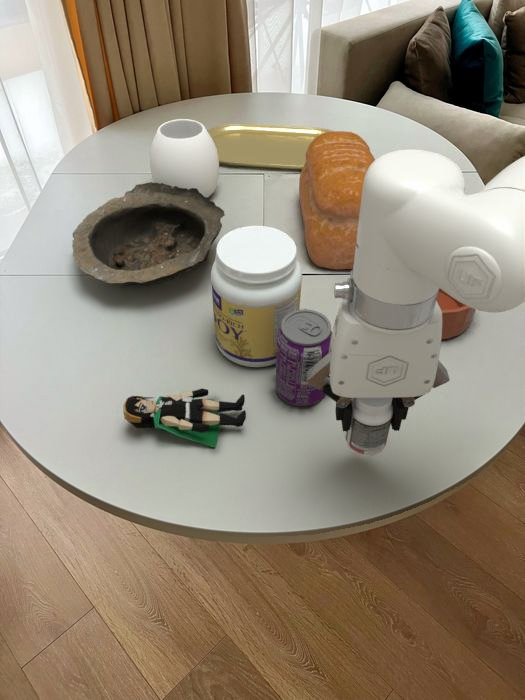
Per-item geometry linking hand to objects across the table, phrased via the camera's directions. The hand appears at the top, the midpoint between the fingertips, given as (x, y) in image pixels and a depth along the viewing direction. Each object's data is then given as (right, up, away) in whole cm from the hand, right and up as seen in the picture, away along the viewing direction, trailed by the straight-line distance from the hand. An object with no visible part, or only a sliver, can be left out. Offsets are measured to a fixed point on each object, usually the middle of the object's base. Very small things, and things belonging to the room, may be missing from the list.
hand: (369, 419), depth 63 cm
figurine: (-22, -2, +10) cm, 24 cm away
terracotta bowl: (+14, +14, +26) cm, 32 cm away
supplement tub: (-13, +9, +21) cm, 26 cm away
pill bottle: (0, -3, +3) cm, 4 cm away
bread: (+2, +30, +42) cm, 52 cm away
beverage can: (-7, +2, +15) cm, 17 cm away
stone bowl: (-31, +22, +34) cm, 51 cm away
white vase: (-27, +39, +50) cm, 69 cm away
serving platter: (-9, +52, +63) cm, 83 cm away
